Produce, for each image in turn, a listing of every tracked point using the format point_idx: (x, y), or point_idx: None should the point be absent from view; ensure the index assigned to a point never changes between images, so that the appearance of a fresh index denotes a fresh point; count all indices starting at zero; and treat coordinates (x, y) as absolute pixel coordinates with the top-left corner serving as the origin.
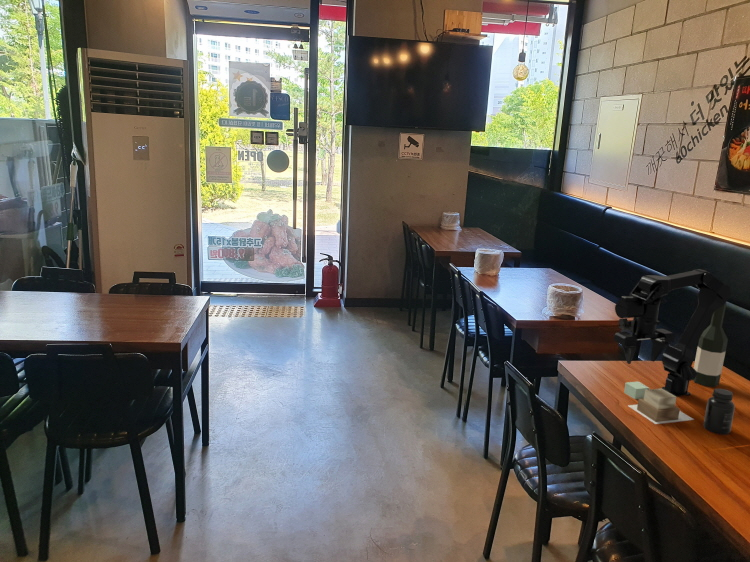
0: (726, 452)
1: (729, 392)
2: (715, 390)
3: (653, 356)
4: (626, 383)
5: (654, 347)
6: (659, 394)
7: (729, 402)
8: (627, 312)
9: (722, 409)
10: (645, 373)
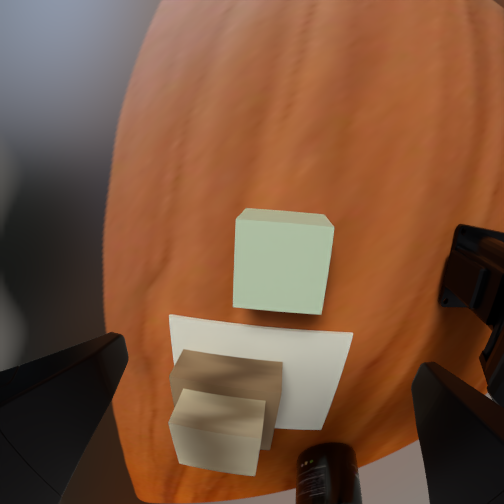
0: (253, 486)
1: None
2: None
3: (431, 418)
4: (236, 227)
5: (486, 484)
6: (201, 455)
7: None
8: None
9: None
10: (496, 85)
